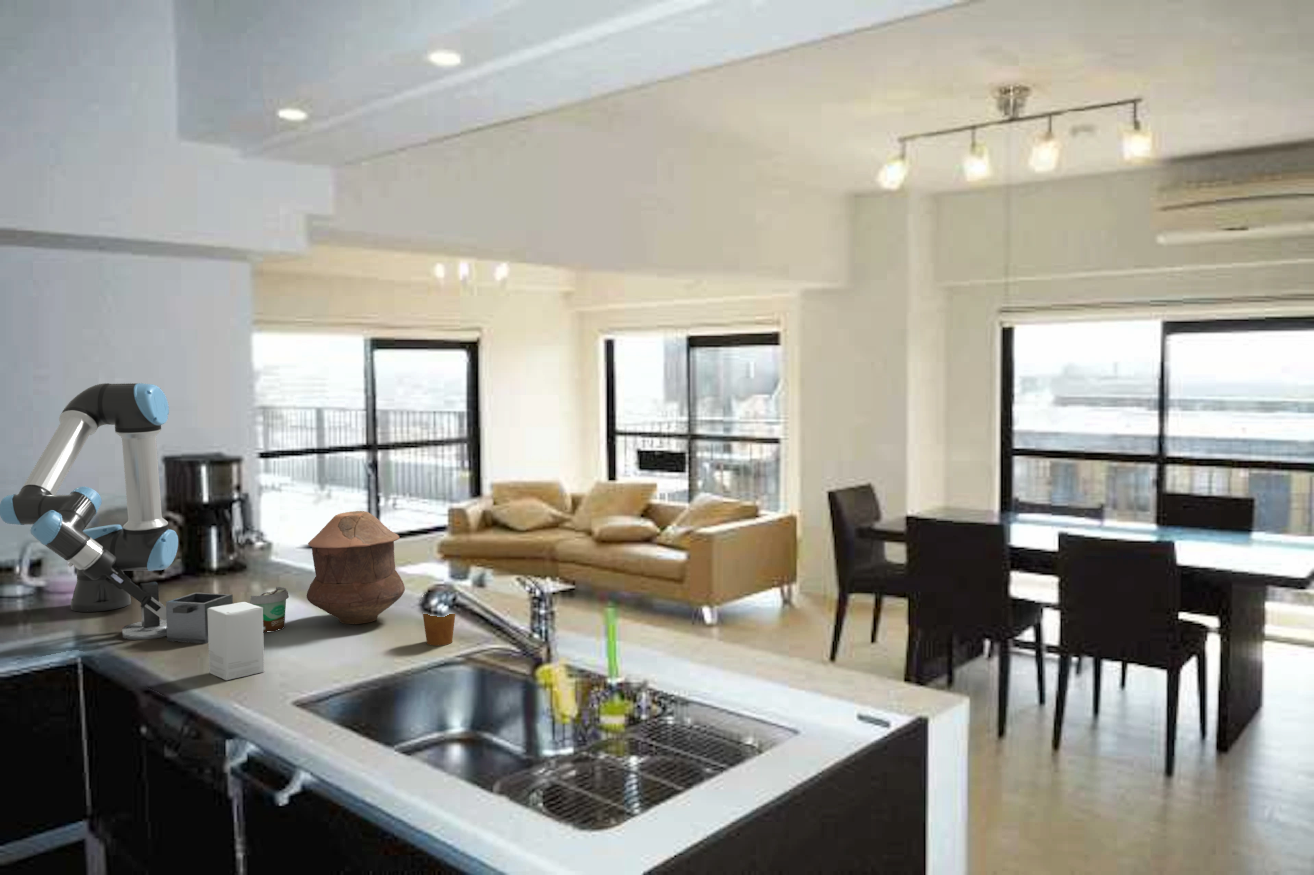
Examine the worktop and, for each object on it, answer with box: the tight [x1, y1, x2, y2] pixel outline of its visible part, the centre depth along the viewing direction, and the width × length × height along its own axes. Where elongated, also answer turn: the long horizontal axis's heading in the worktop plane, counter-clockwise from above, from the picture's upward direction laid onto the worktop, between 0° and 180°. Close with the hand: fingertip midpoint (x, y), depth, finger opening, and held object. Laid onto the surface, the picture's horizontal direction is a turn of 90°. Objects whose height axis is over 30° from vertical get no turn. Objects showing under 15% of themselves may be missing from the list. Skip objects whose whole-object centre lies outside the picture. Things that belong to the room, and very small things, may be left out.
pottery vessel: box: [306, 510, 406, 625], centre depth 264 cm, size 26×26×30 cm
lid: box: [121, 581, 167, 641], centre depth 252 cm, size 13×13×13 cm
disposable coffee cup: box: [419, 593, 456, 647], centre depth 243 cm, size 10×10×12 cm
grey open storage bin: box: [165, 592, 234, 645], centre depth 248 cm, size 15×11×10 cm
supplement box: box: [207, 601, 265, 681], centre depth 218 cm, size 9×9×15 cm
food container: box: [249, 586, 290, 633], centre depth 256 cm, size 12×6×10 cm, turn 168°
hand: (163, 612), depth 254 cm, fingers open, 9 cm apart
